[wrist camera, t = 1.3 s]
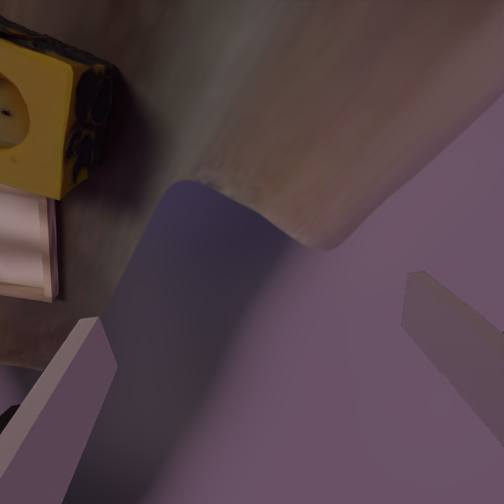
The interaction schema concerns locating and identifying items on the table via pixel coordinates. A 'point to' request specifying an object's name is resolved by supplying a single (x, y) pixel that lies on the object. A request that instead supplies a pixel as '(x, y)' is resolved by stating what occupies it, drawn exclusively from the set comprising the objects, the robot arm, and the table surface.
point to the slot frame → (27, 245)
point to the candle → (50, 111)
